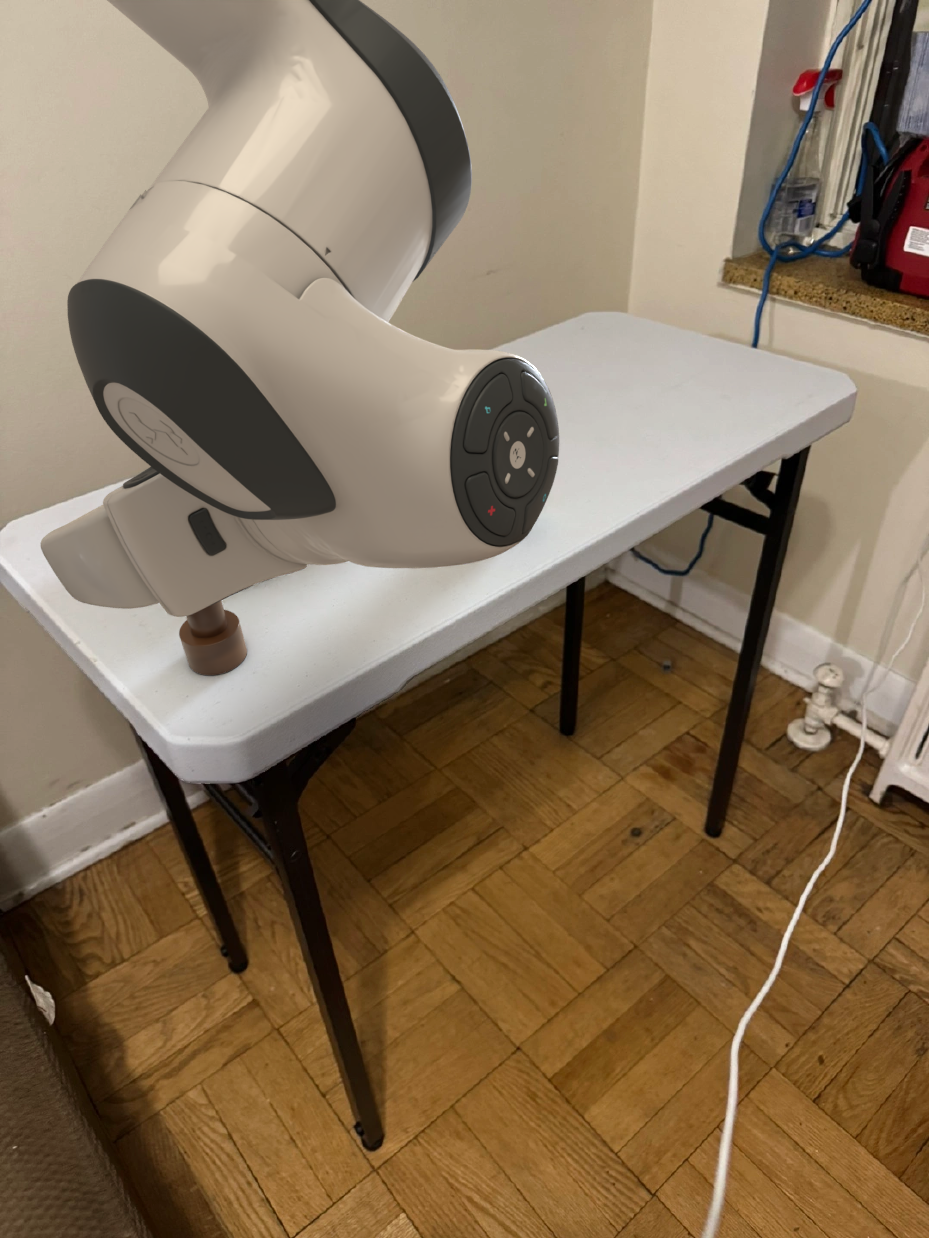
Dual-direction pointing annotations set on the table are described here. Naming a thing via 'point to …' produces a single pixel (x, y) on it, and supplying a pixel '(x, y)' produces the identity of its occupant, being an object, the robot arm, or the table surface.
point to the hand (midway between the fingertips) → (171, 487)
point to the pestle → (213, 640)
